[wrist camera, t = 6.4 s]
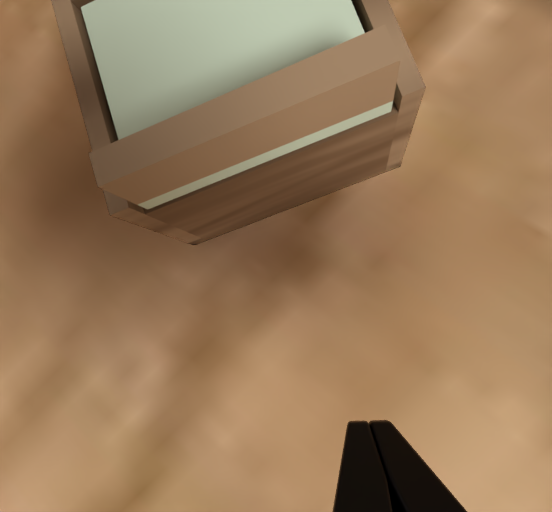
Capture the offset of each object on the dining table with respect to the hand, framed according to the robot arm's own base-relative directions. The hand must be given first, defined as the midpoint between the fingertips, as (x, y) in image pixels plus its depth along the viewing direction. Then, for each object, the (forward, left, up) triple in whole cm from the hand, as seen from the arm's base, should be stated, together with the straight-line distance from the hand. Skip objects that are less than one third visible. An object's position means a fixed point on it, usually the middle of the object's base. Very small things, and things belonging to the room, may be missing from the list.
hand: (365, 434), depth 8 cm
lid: (+9, +9, -6) cm, 14 cm away
